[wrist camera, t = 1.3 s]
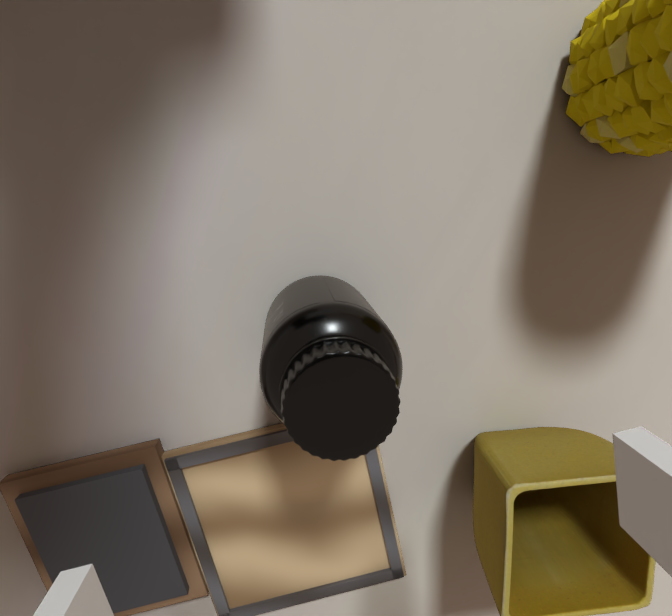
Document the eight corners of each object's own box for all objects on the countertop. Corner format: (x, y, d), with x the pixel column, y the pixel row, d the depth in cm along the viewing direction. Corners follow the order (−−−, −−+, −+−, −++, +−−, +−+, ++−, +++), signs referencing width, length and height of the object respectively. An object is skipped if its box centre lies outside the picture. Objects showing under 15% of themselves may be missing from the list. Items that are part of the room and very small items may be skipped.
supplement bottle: (306, 394, 31) (316, 515, 19) (244, 313, 29) (213, 392, 17) (392, 337, 30) (455, 424, 19) (334, 251, 29) (364, 289, 17)
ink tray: (7, 475, 30) (-3, 484, 29) (159, 438, 30) (155, 446, 29) (72, 618, 33) (65, 631, 32) (210, 583, 33) (207, 595, 32)
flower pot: (449, 408, 32) (508, 488, 23) (570, 397, 33) (671, 471, 24) (448, 517, 34) (502, 628, 25) (561, 505, 35) (651, 609, 26)
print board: (163, 451, 31) (160, 459, 30) (368, 402, 31) (370, 408, 30) (221, 615, 34) (219, 626, 33) (404, 568, 35) (407, 578, 34)
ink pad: (19, 493, 29) (14, 499, 29) (144, 463, 30) (141, 469, 29) (75, 616, 32) (71, 624, 31) (189, 587, 32) (187, 594, 32)
